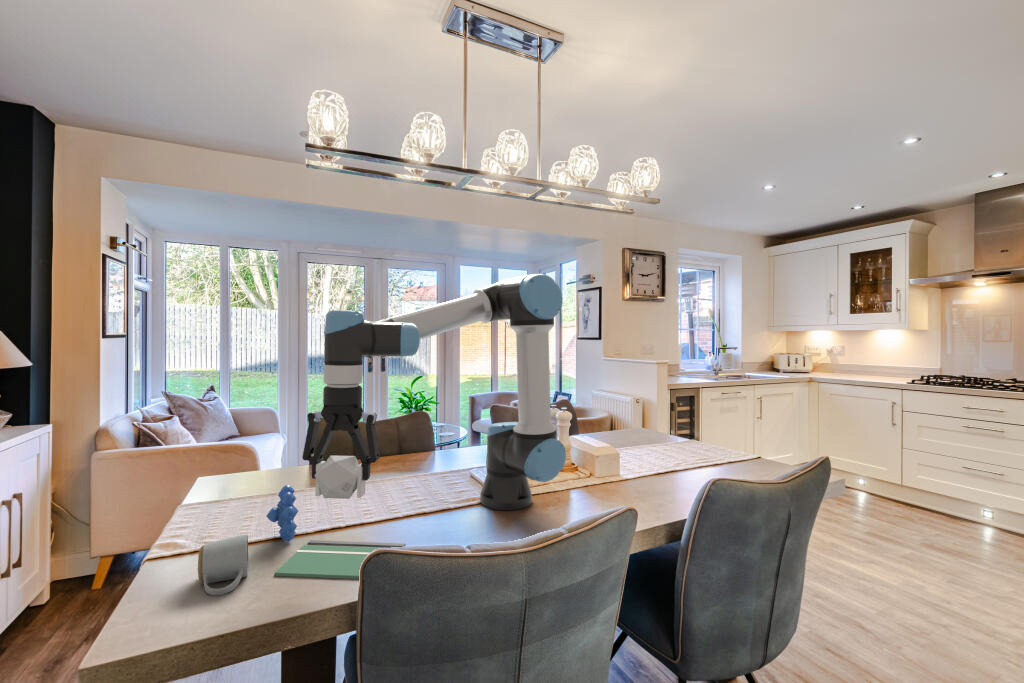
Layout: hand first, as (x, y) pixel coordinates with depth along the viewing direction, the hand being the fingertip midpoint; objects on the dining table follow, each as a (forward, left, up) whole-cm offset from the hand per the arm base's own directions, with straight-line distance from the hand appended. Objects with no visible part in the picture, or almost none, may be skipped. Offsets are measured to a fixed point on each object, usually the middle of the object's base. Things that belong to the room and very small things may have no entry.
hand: (340, 494), depth 95 cm
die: (0, 0, -1) cm, 1 cm away
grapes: (+18, -11, -15) cm, 26 cm away
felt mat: (0, -1, -15) cm, 15 cm away
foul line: (0, -10, -15) cm, 17 cm away
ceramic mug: (+19, +7, -15) cm, 25 cm away
